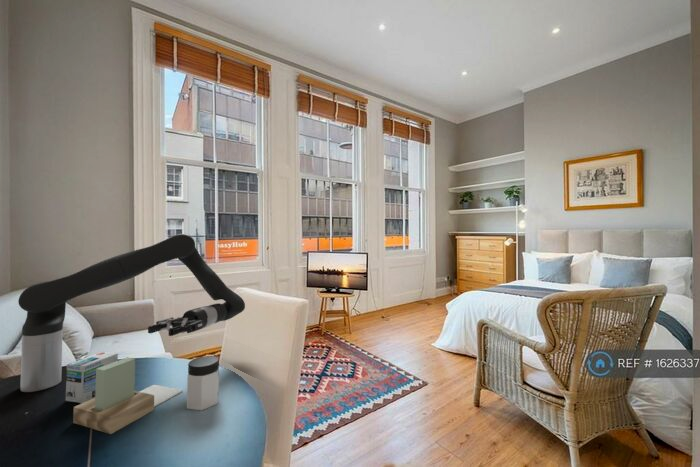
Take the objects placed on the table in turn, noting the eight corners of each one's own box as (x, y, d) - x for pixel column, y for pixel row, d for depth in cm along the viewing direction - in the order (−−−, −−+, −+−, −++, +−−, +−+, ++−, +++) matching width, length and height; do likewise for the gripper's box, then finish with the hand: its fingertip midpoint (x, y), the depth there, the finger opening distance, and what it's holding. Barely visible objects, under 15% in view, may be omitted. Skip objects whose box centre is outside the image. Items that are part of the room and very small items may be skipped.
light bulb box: (82, 404, 86) (83, 366, 87) (64, 401, 88) (65, 364, 88) (118, 386, 97) (118, 352, 97) (101, 384, 98) (101, 351, 99)
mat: (122, 400, 88) (122, 399, 88) (154, 385, 98) (154, 384, 98) (152, 408, 84) (152, 407, 84) (182, 391, 94) (182, 390, 94)
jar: (217, 408, 85) (218, 365, 85) (185, 413, 82) (185, 369, 82) (219, 392, 93) (220, 353, 94) (190, 397, 90) (190, 357, 91)
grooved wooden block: (73, 422, 78) (73, 407, 78) (118, 400, 88) (119, 387, 88) (111, 434, 73) (111, 417, 73) (154, 409, 84) (154, 395, 84)
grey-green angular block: (94, 423, 77) (96, 368, 78) (126, 407, 85) (127, 357, 85) (102, 425, 76) (104, 370, 77) (134, 409, 84) (135, 358, 84)
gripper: (185, 306, 110) (142, 317, 95) (216, 308, 106) (176, 321, 91) (185, 326, 110) (142, 341, 95) (216, 330, 106) (176, 346, 90)
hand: (159, 331), depth 93 cm, fingers open, 8 cm apart
